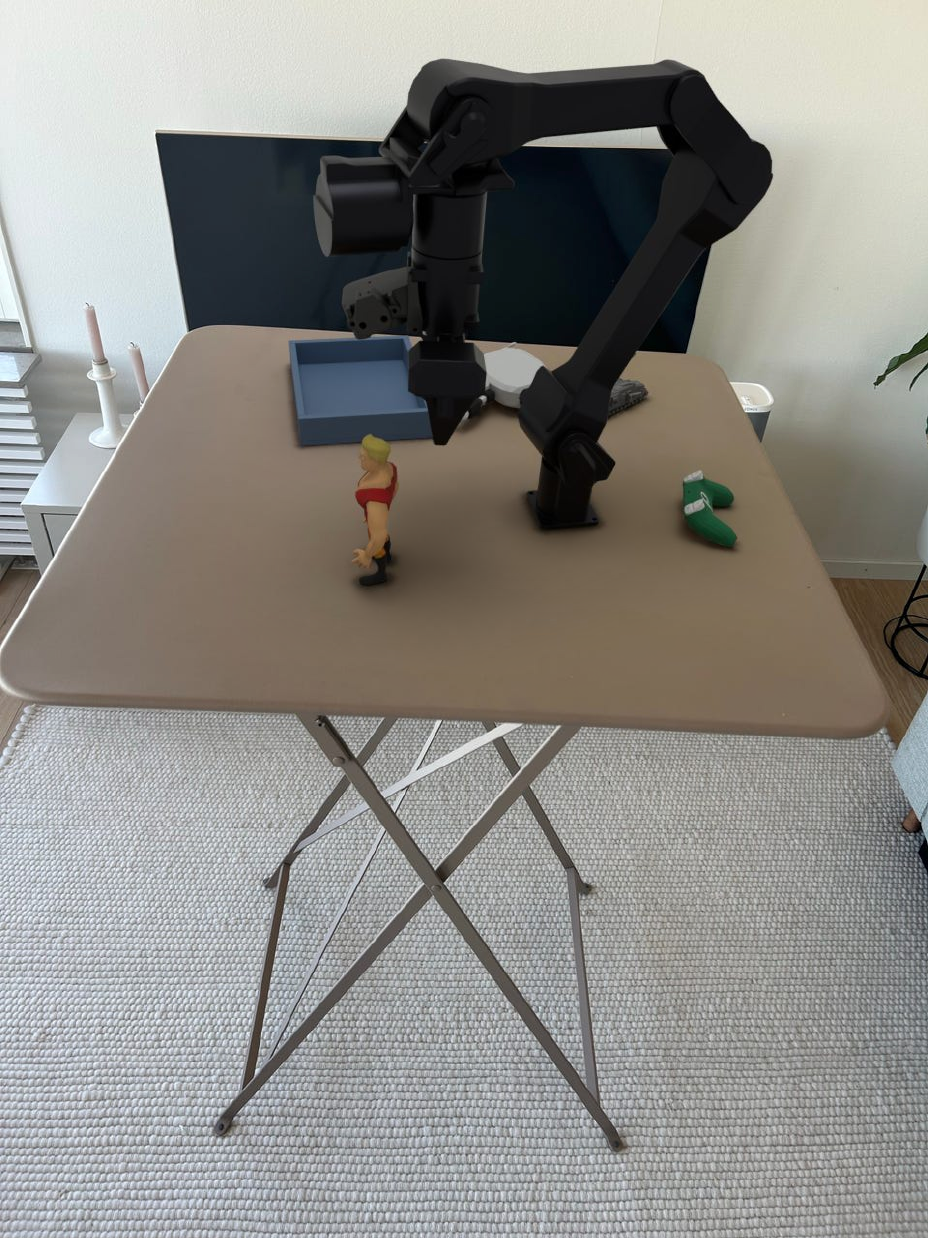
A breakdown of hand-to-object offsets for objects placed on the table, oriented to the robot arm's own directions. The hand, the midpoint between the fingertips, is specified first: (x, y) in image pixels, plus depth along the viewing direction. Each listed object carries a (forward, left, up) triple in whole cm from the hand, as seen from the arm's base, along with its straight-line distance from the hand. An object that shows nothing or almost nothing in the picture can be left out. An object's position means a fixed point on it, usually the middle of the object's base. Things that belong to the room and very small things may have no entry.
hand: (438, 418), depth 82 cm
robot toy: (+26, -12, -14) cm, 32 cm away
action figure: (-5, +7, -14) cm, 16 cm away
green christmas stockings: (-2, -29, -14) cm, 33 cm away
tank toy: (+25, -26, -14) cm, 38 cm away
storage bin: (+28, +5, -14) cm, 32 cm away
